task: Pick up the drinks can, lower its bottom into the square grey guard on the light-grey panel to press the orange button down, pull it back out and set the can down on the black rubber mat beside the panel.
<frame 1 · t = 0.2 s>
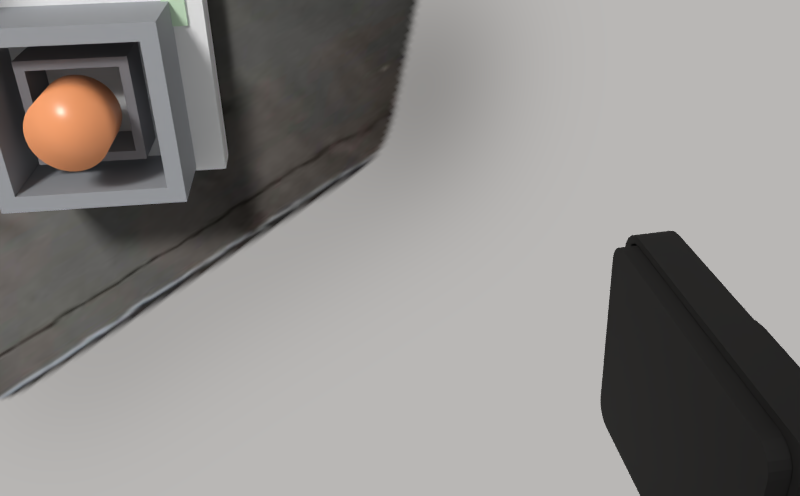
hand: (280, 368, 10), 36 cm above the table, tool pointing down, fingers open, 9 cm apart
button: (74, 122, 38), point 7 cm above the table, slide at 0.0 cm
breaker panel: (99, 64, 43), on the table
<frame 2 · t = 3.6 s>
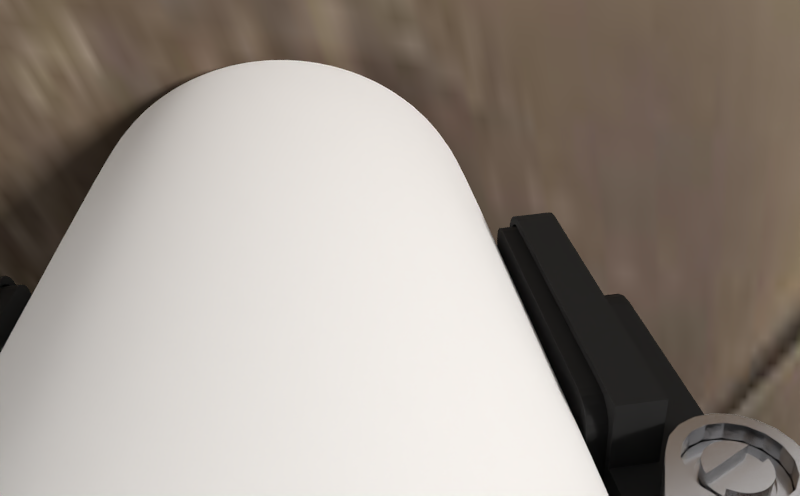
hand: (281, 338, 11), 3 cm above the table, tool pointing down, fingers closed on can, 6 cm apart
can: (289, 225, 14), on the table, touching gripper
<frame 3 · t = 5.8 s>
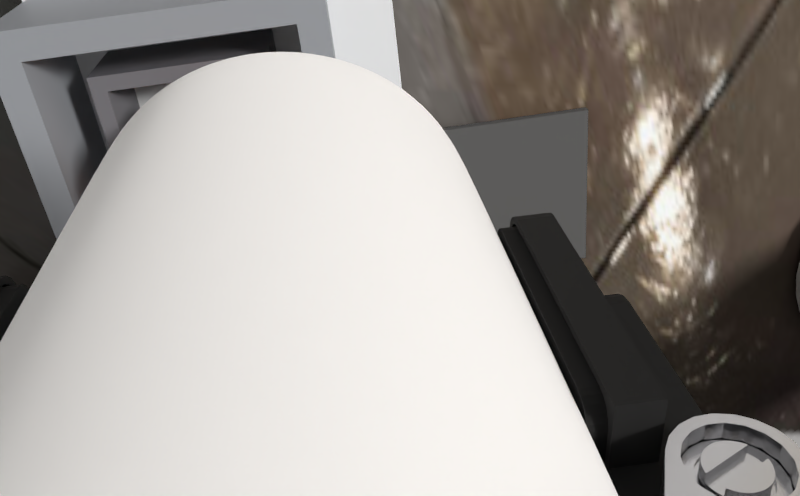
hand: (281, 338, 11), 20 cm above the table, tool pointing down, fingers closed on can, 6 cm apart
mat: (504, 196, 33), on the table
can: (290, 219, 14), point 16 cm above the table, touching gripper
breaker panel: (241, 95, 29), on the table
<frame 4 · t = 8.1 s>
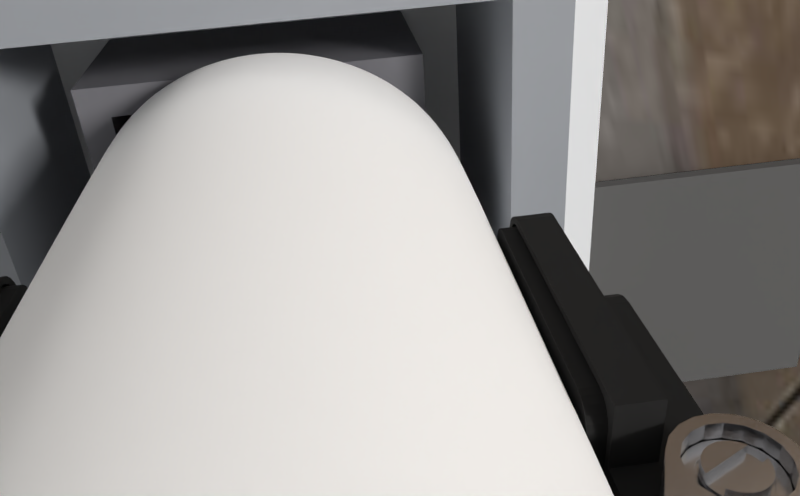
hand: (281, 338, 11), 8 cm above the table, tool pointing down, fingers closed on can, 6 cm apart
mat: (697, 280, 22), on the table
can: (288, 220, 14), point 5 cm above the table, touching button, gripper
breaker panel: (322, 119, 18), on the table
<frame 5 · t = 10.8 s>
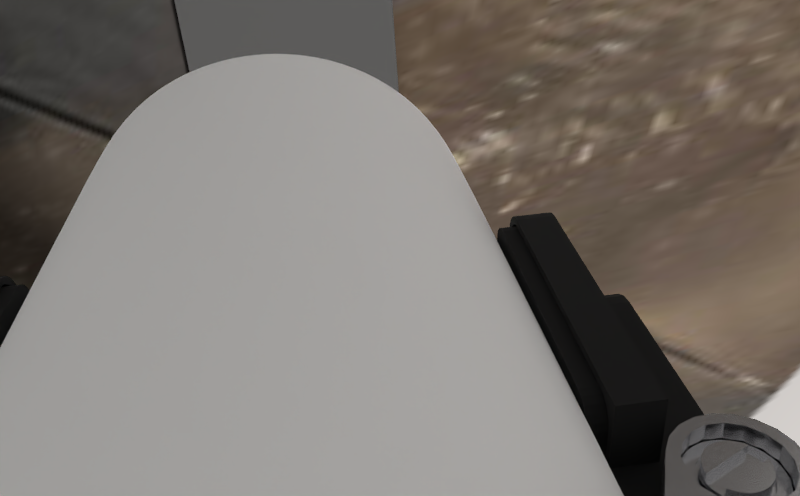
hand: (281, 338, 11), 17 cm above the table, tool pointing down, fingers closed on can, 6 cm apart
mat: (289, 30, 26), on the table
can: (284, 220, 14), point 14 cm above the table, touching gripper
when the fingers open (4 cm above the table, at t = 13.5 s): can stays where it is, resting on mat.
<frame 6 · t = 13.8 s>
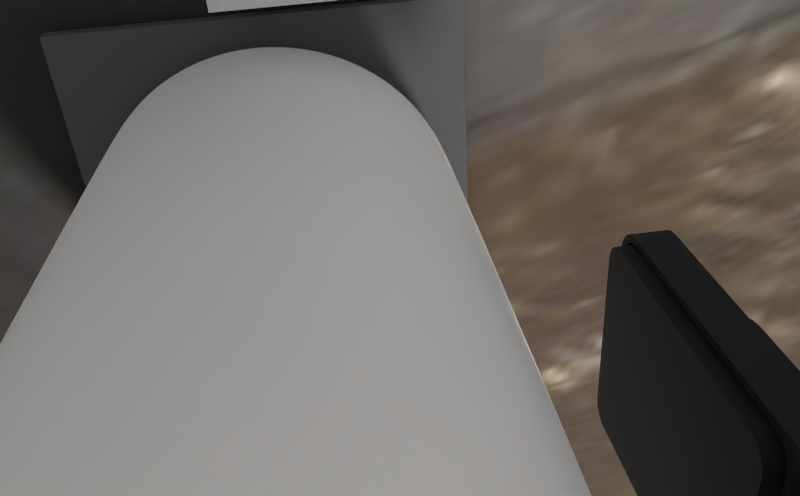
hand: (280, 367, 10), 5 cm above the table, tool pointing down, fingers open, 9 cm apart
mat: (285, 196, 15), on the table
can: (283, 203, 15), resting on mat
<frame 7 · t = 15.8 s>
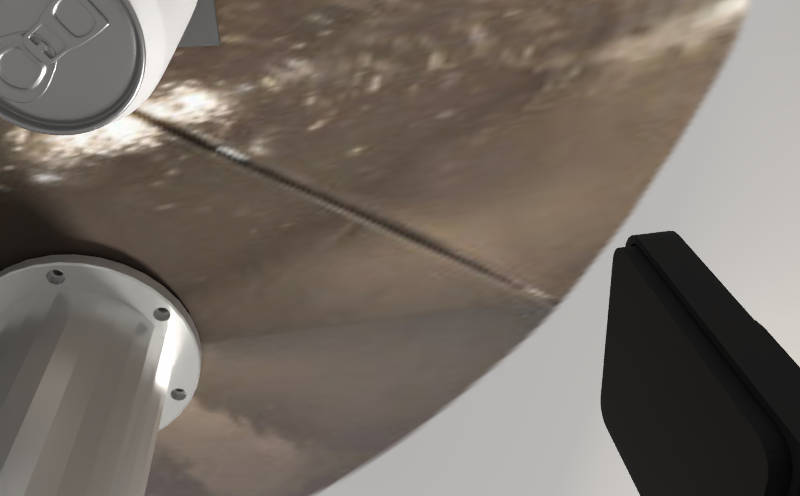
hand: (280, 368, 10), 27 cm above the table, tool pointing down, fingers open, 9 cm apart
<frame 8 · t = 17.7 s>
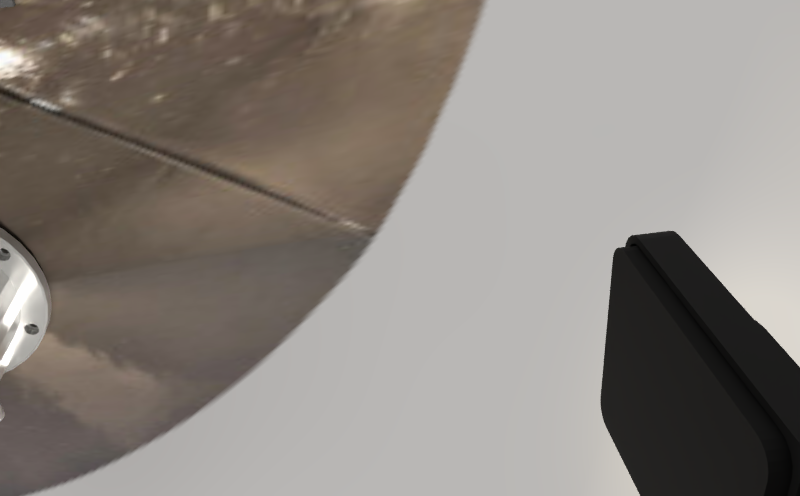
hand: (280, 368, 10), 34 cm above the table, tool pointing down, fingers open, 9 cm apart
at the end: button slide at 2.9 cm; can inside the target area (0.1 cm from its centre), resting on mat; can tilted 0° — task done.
